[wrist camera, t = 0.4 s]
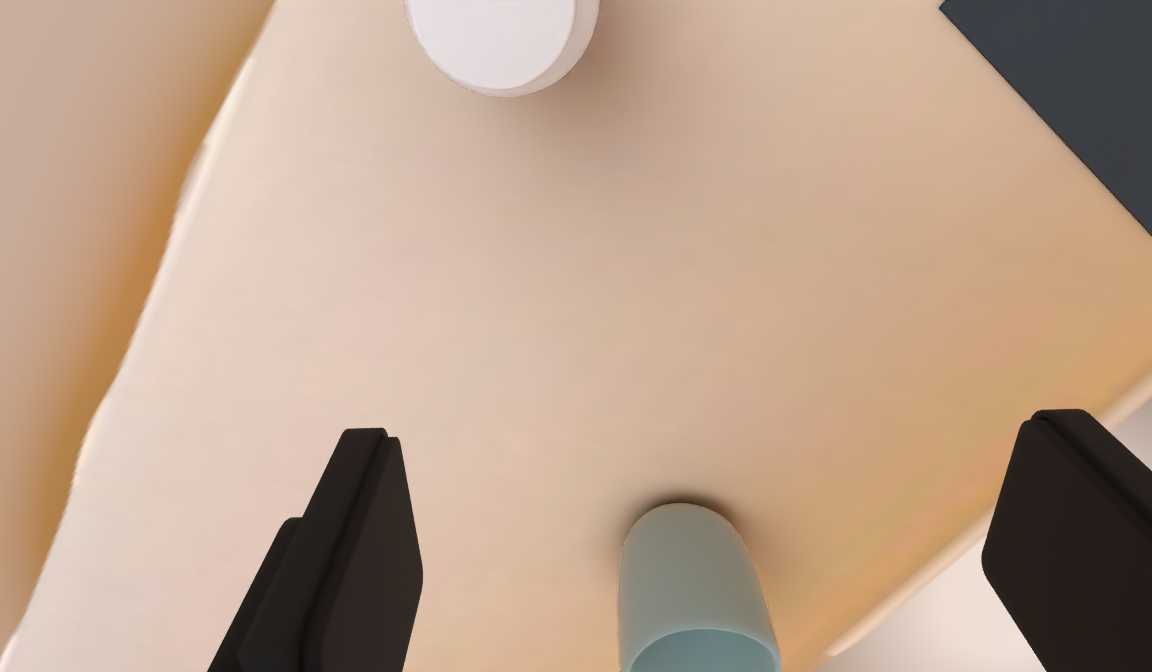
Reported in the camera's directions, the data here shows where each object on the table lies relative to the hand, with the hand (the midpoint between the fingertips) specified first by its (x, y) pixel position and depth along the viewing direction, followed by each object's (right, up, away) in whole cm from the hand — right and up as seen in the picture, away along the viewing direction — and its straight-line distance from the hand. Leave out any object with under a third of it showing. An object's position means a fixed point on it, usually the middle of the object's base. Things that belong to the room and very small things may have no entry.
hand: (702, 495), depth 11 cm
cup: (+4, -9, +33) cm, 34 cm away
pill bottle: (-4, +17, +19) cm, 26 cm away
